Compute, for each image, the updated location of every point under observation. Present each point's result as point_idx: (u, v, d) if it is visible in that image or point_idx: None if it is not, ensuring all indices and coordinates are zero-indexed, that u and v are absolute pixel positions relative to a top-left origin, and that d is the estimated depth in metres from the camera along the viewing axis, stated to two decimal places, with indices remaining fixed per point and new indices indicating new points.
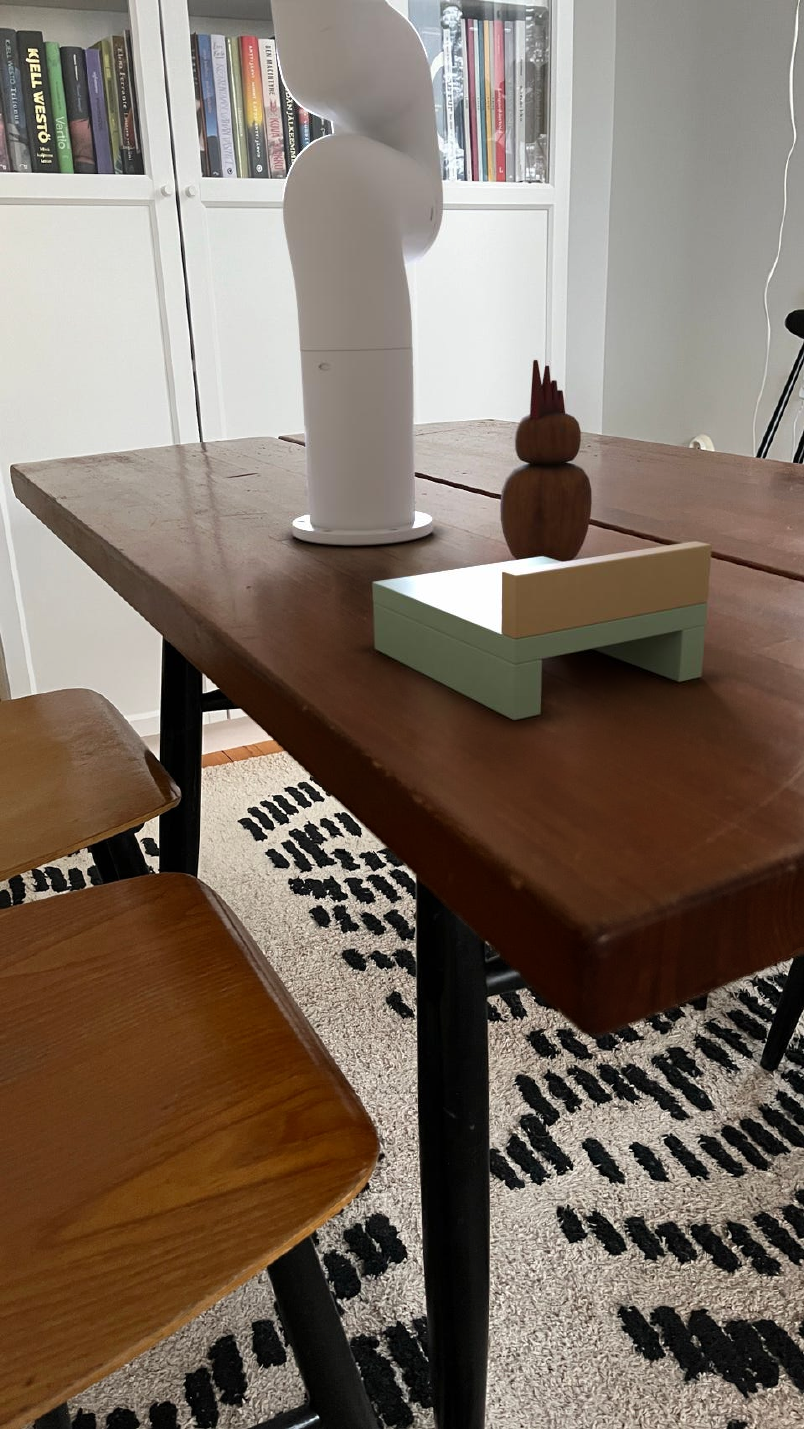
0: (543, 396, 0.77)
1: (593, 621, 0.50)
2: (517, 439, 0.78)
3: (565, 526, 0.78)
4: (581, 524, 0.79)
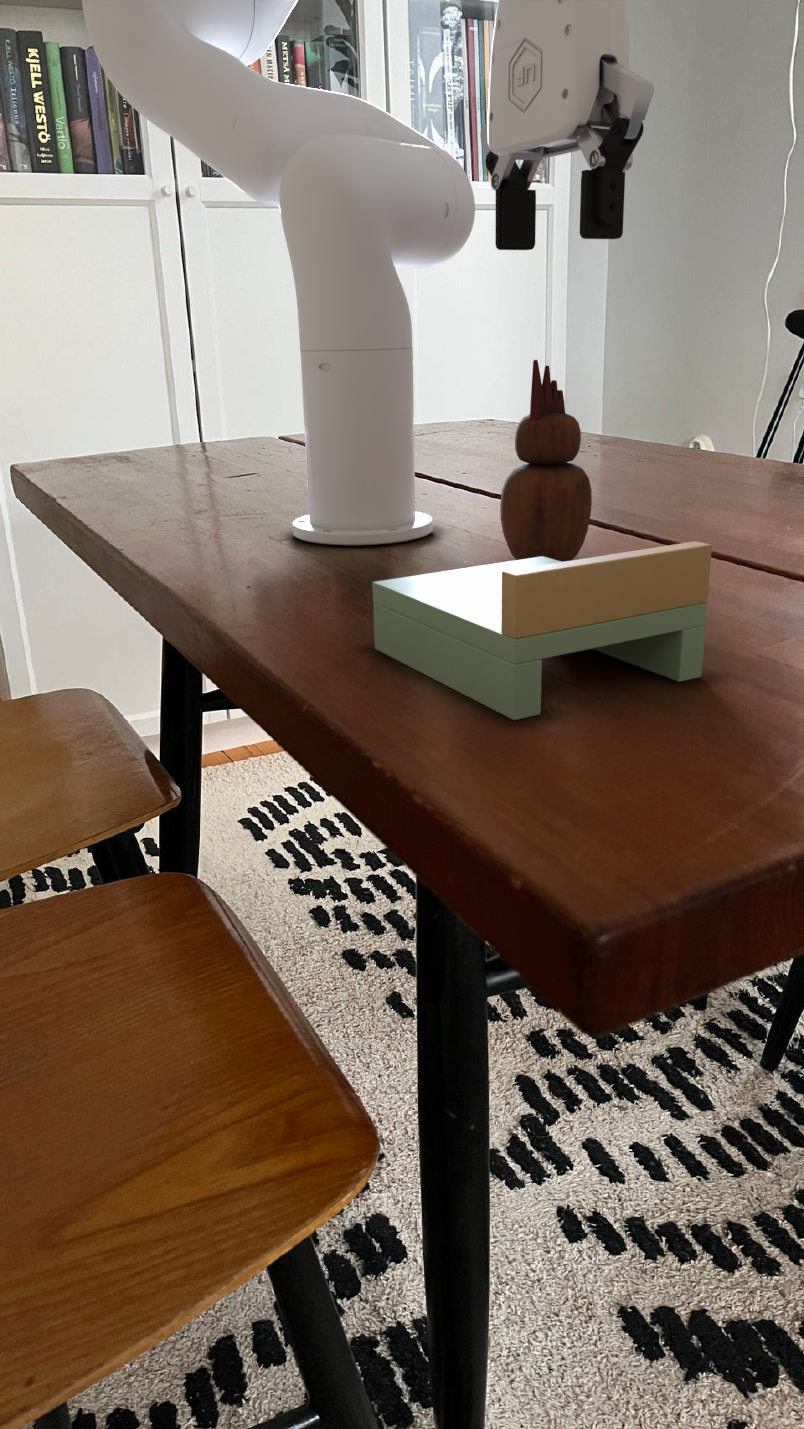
0: (543, 396, 0.77)
1: (593, 621, 0.50)
2: (517, 439, 0.78)
3: (565, 526, 0.78)
4: (581, 524, 0.79)
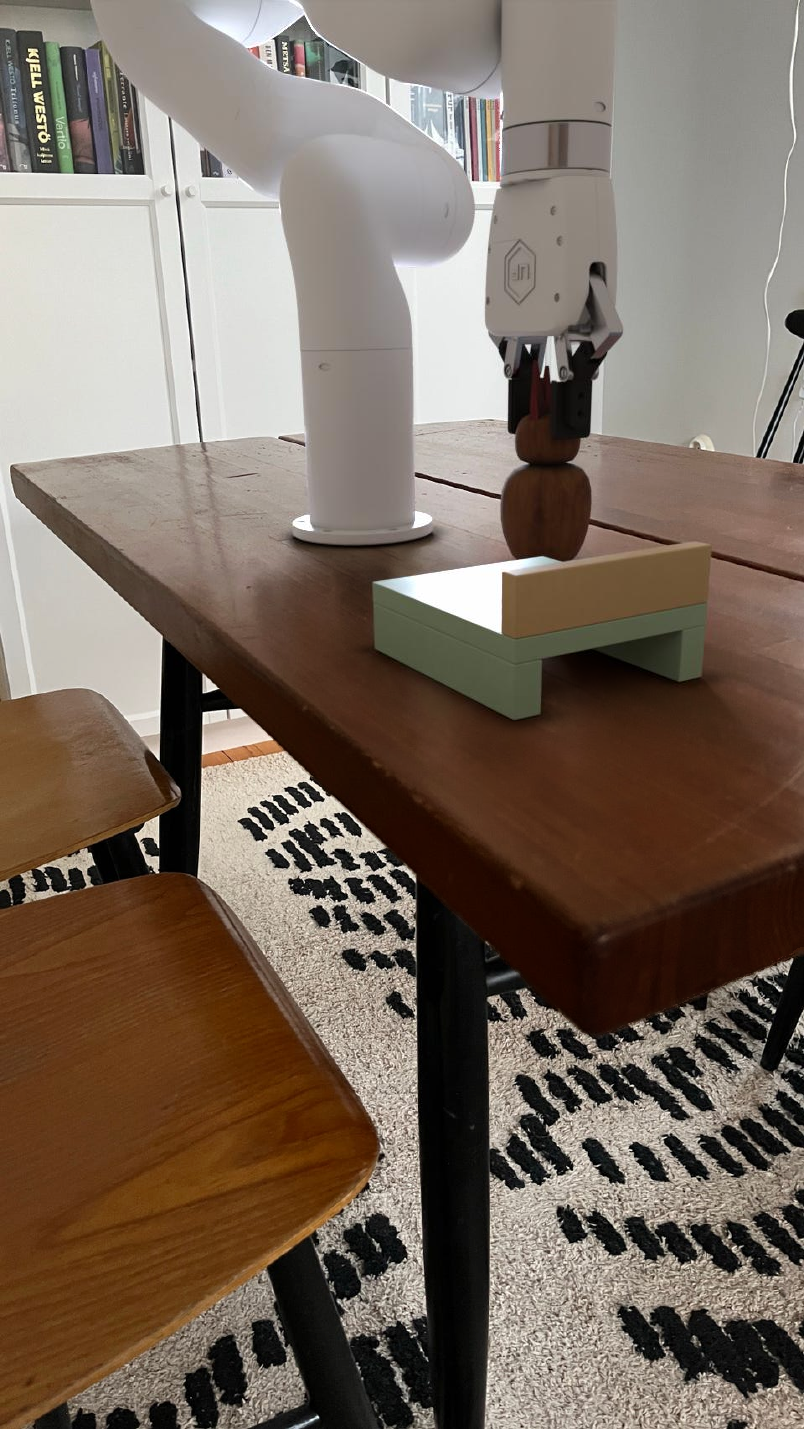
0: (543, 396, 0.77)
1: (593, 621, 0.50)
2: (517, 439, 0.78)
3: (565, 526, 0.78)
4: (581, 524, 0.79)
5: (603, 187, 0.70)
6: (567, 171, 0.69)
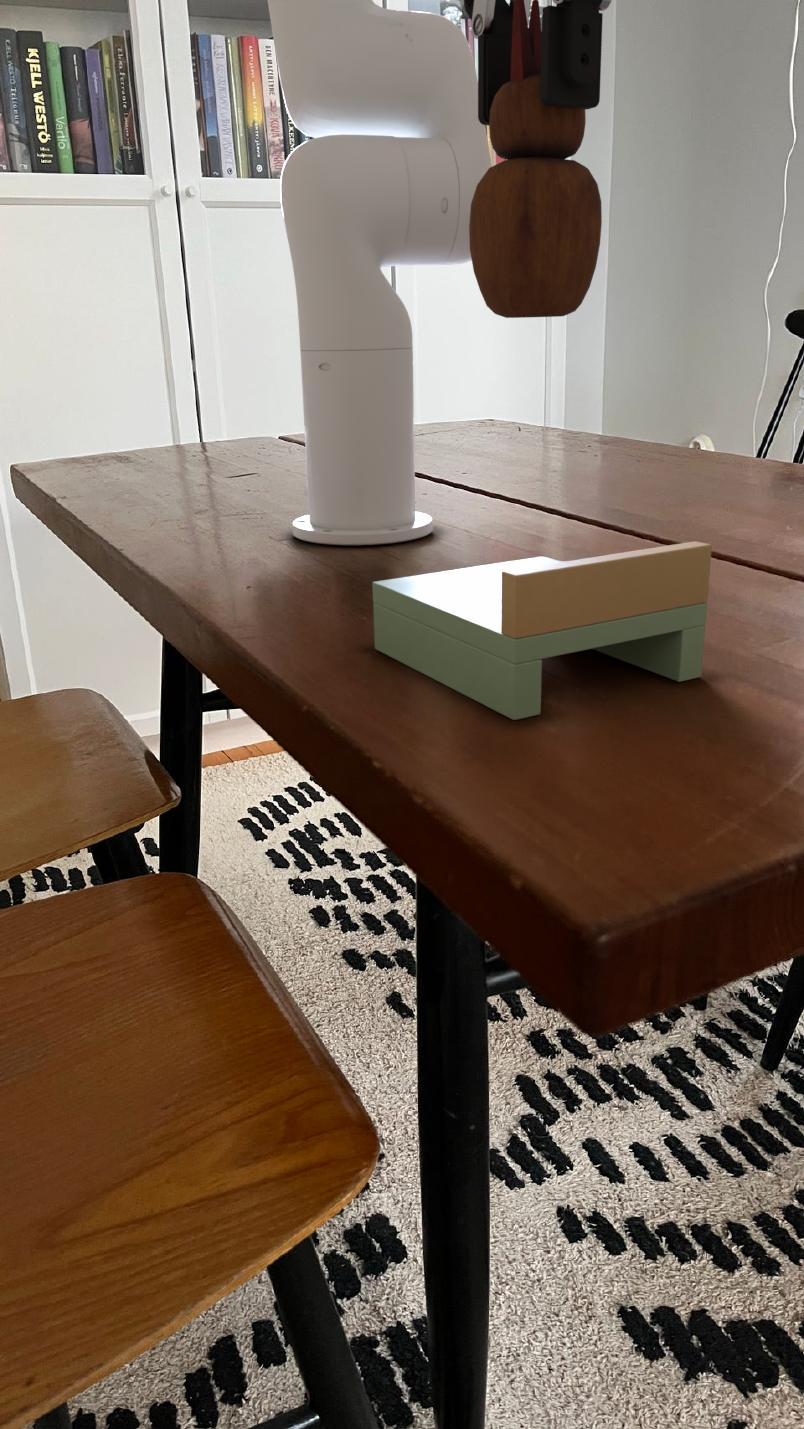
0: (530, 46, 0.52)
1: (593, 621, 0.50)
2: (492, 117, 0.53)
3: (564, 247, 0.53)
4: (587, 247, 0.54)
5: None
6: None
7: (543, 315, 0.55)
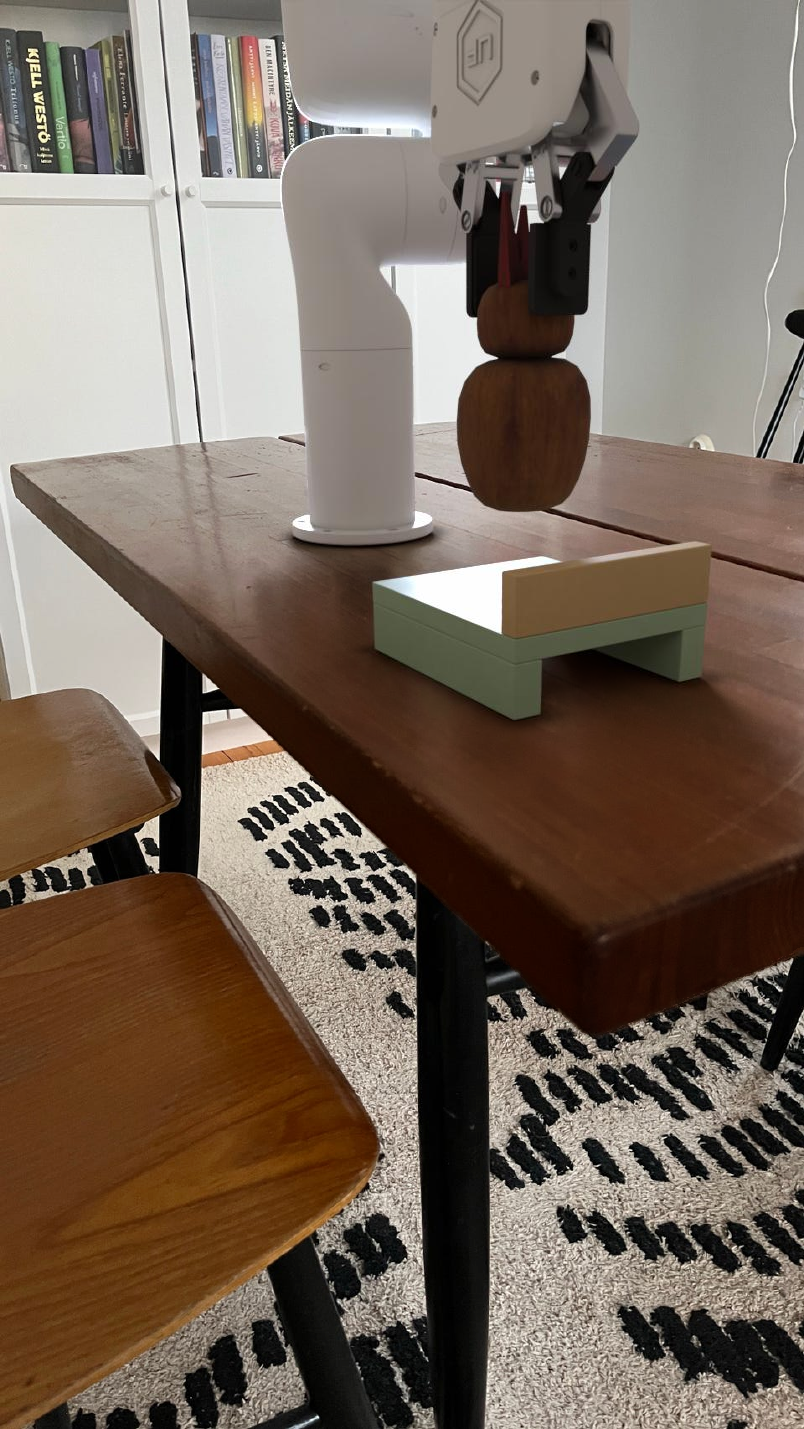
0: (518, 251, 0.51)
1: (593, 621, 0.50)
2: (480, 319, 0.52)
3: (552, 450, 0.53)
4: (575, 447, 0.53)
5: None
6: None
7: (531, 511, 0.55)
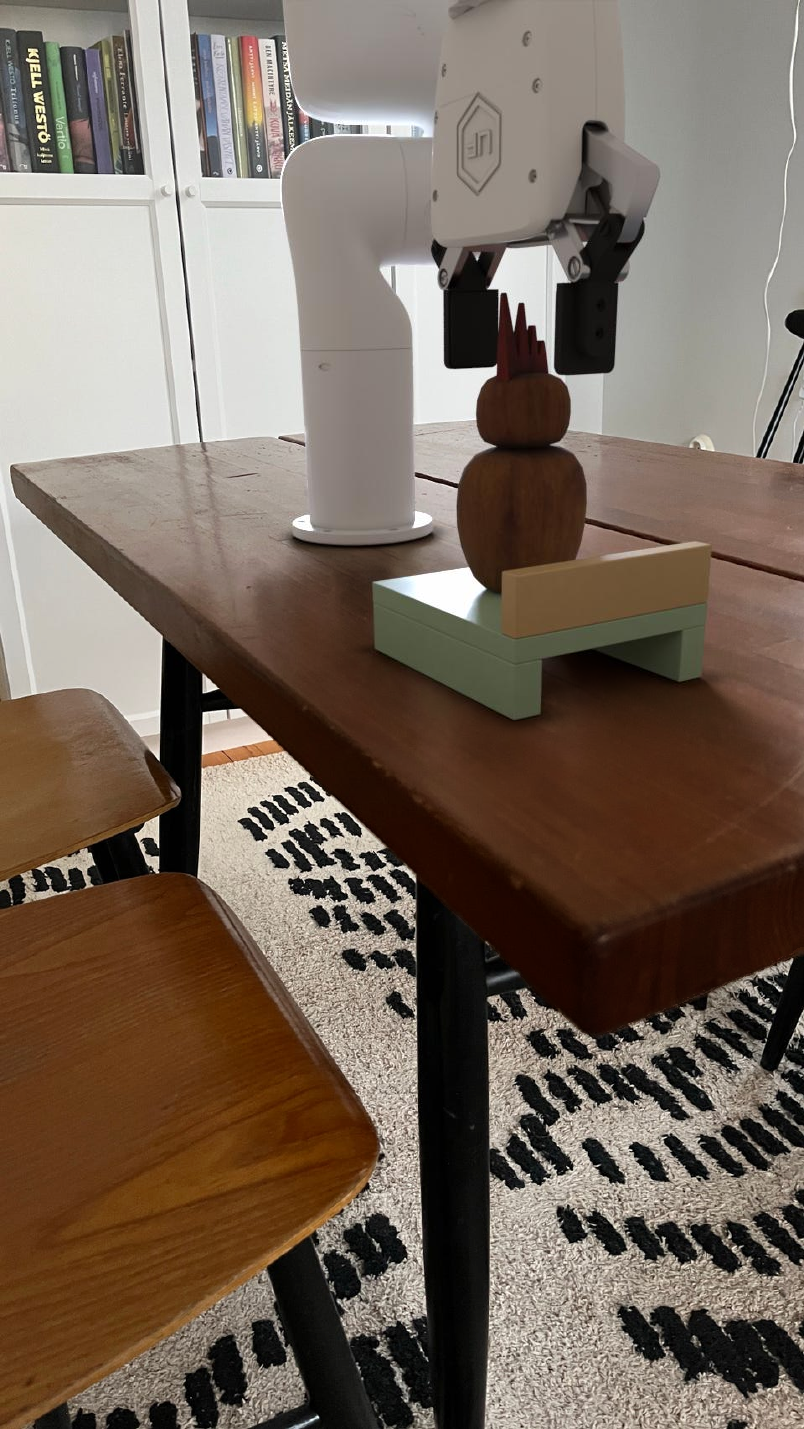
0: (516, 347, 0.53)
1: (593, 621, 0.50)
2: (479, 411, 0.54)
3: (549, 537, 0.54)
4: (571, 533, 0.55)
5: (604, 2, 0.45)
6: None
7: None
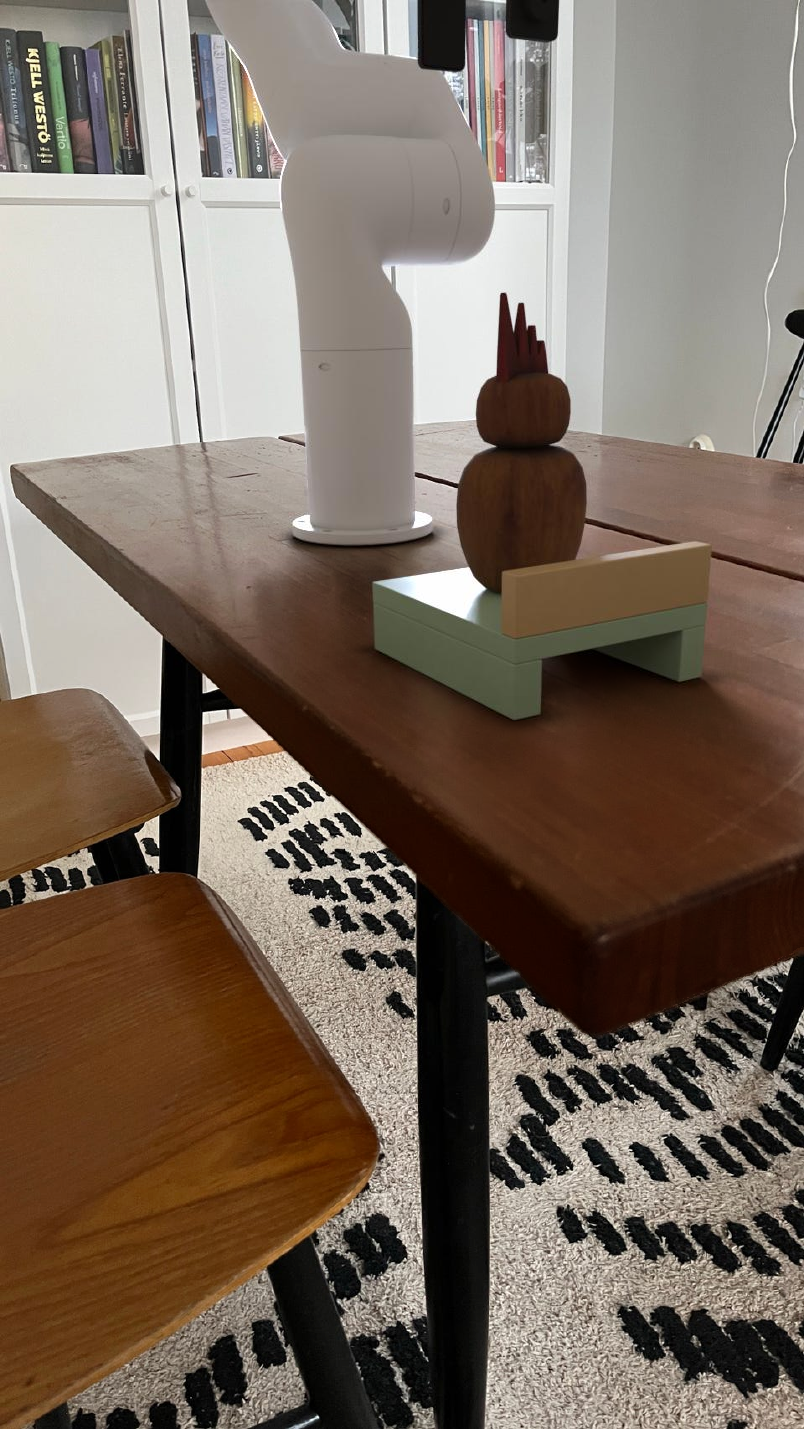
0: (515, 347, 0.53)
1: (593, 621, 0.50)
2: (478, 411, 0.54)
3: (549, 537, 0.54)
4: (571, 533, 0.55)
5: None
6: None
7: None
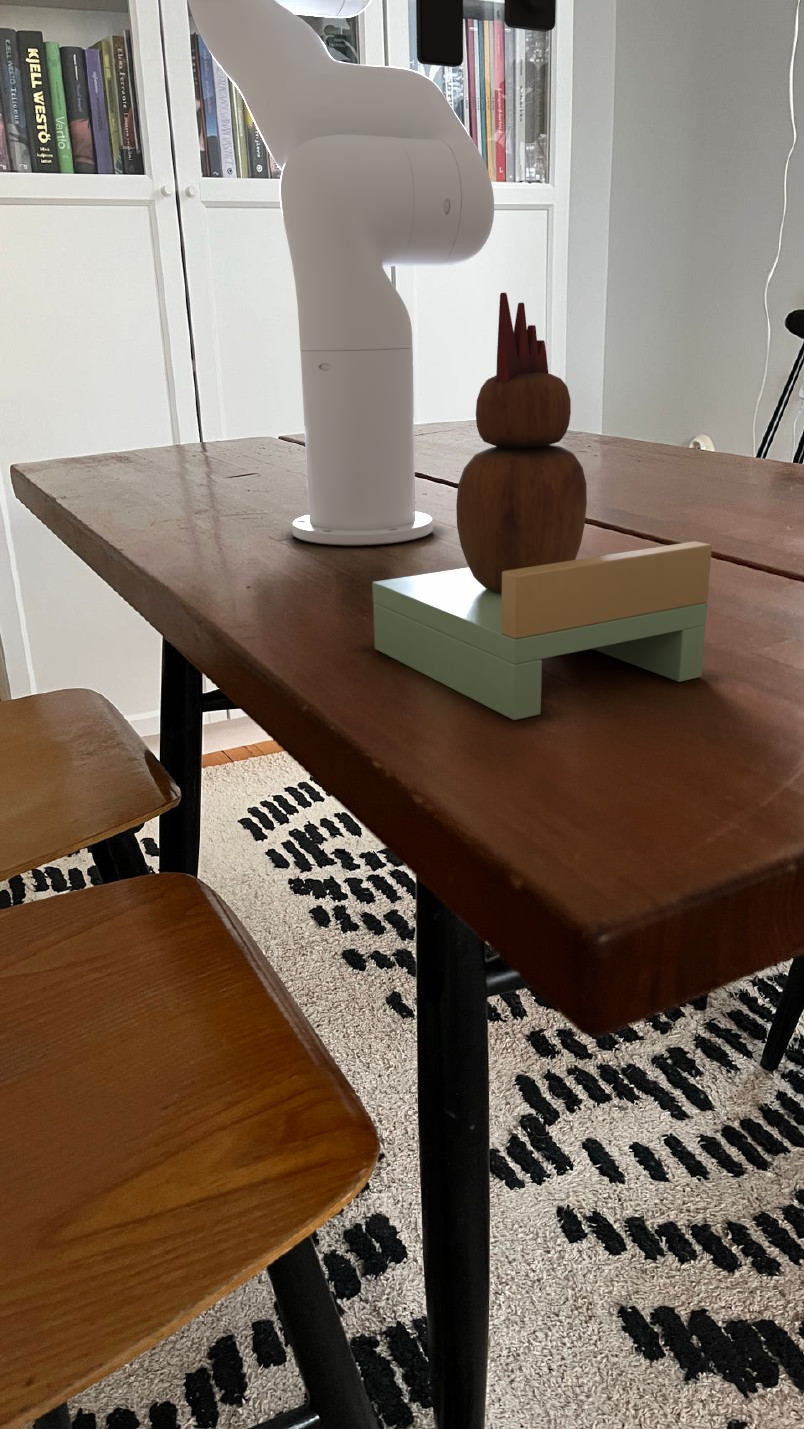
0: (515, 347, 0.53)
1: (593, 621, 0.50)
2: (479, 411, 0.54)
3: (549, 537, 0.54)
4: (571, 533, 0.55)
5: None
6: None
7: None
